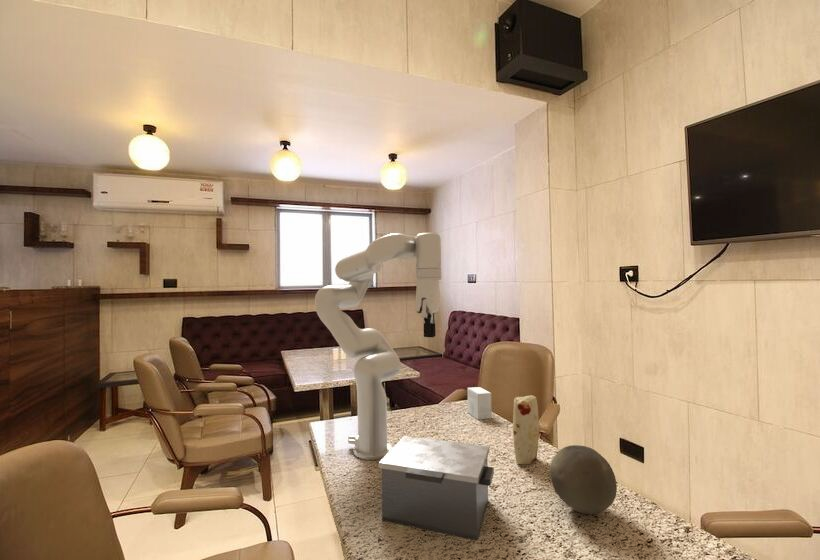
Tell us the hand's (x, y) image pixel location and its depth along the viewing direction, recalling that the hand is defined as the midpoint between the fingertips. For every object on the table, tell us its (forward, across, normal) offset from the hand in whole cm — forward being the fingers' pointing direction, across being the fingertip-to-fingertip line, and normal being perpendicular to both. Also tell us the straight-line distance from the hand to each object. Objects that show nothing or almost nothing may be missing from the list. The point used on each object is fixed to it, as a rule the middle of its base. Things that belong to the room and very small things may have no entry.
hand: (429, 336), depth 113 cm
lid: (+27, +20, +7) cm, 34 cm away
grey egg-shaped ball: (+39, +9, +40) cm, 57 cm away
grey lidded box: (+39, +19, +7) cm, 44 cm away
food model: (+39, -14, +26) cm, 49 cm away
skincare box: (+39, -52, +5) cm, 65 cm away
